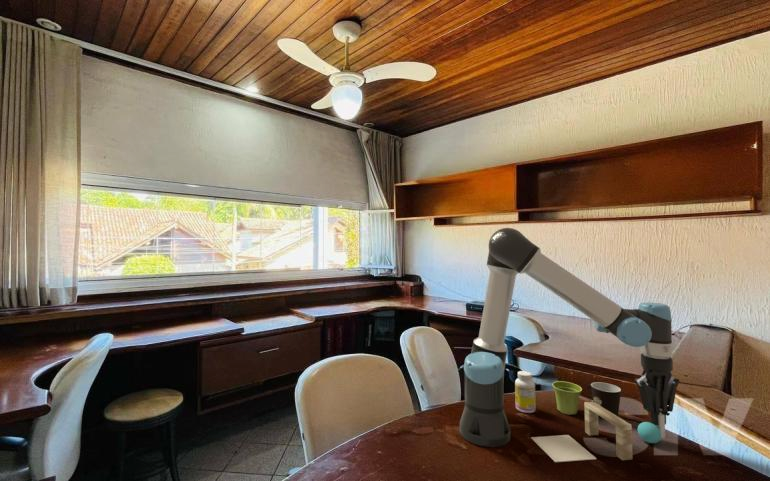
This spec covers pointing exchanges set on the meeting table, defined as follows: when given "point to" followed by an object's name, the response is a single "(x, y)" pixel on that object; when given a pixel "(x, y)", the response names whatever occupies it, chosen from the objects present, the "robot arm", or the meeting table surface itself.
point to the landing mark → (562, 448)
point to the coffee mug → (606, 396)
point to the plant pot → (567, 396)
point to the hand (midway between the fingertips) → (658, 435)
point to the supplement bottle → (525, 392)
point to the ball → (649, 432)
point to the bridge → (621, 426)
